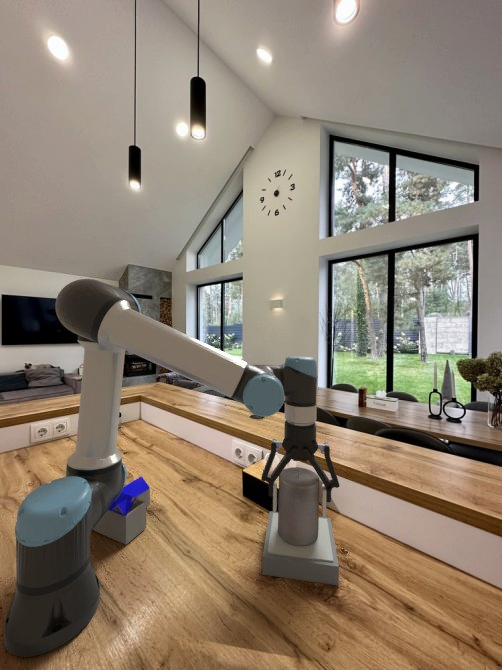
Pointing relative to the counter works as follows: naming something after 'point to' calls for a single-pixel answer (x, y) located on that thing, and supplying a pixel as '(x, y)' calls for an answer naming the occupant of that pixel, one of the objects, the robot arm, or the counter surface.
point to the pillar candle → (298, 506)
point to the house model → (126, 513)
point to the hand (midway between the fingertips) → (299, 511)
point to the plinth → (301, 555)
